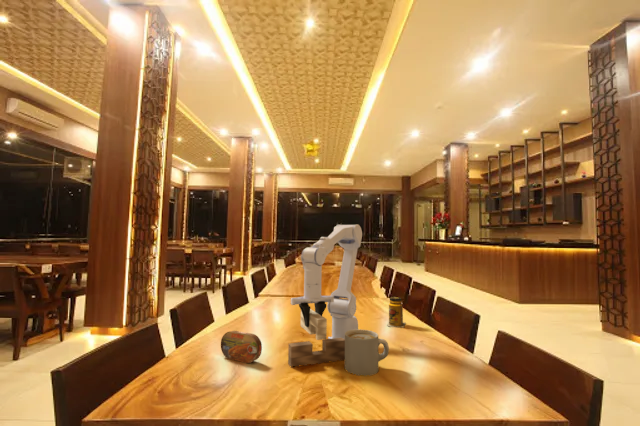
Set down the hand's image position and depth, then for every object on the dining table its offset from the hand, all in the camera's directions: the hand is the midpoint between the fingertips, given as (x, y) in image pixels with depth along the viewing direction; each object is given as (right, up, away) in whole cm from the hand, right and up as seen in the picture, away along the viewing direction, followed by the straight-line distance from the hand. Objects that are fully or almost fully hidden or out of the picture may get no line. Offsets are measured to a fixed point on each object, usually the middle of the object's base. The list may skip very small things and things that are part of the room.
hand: (312, 325), depth 106 cm
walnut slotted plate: (+2, -9, -5) cm, 11 cm away
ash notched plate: (0, -2, -1) cm, 2 cm away
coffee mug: (+17, -9, -10) cm, 22 cm away
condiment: (+37, -13, +39) cm, 55 cm away
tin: (-22, -9, -4) cm, 25 cm away
